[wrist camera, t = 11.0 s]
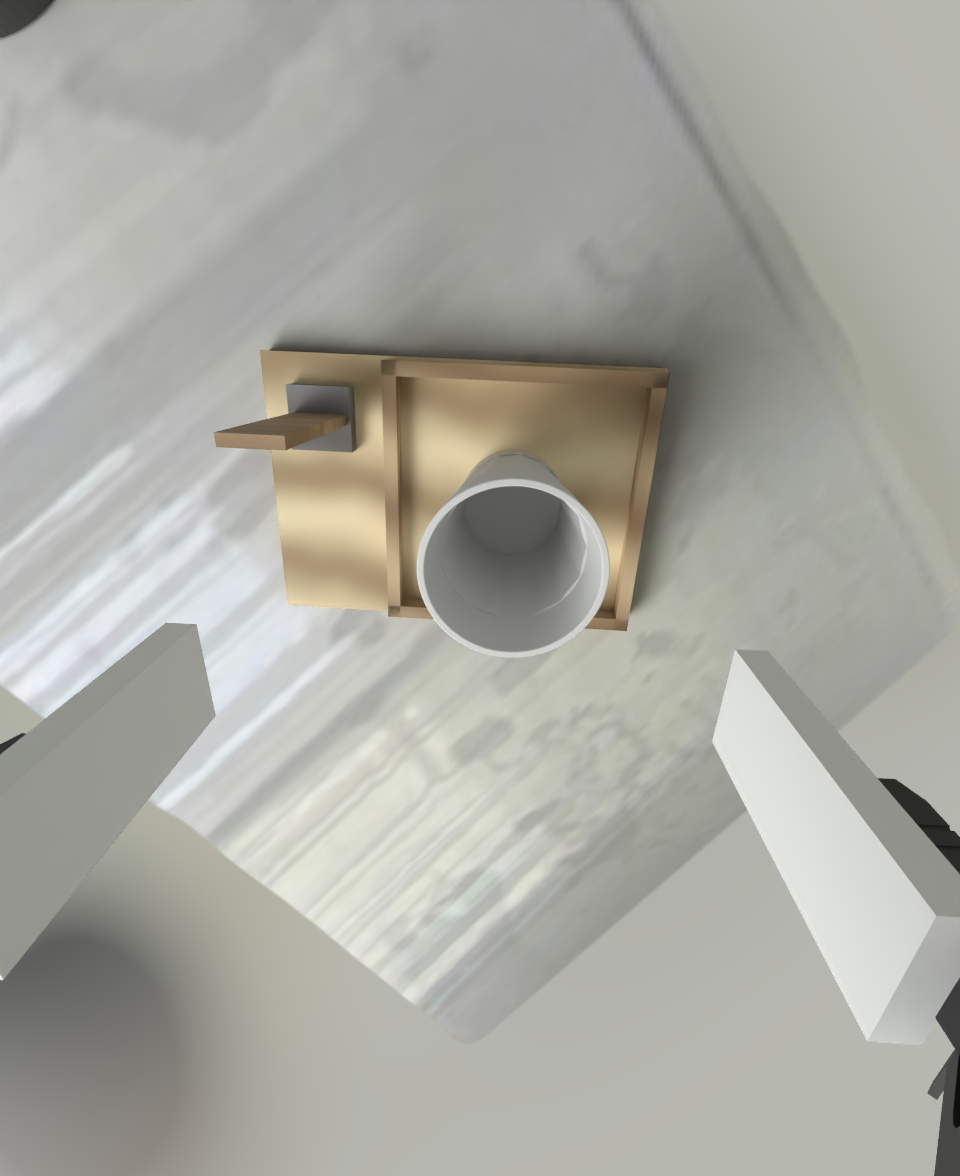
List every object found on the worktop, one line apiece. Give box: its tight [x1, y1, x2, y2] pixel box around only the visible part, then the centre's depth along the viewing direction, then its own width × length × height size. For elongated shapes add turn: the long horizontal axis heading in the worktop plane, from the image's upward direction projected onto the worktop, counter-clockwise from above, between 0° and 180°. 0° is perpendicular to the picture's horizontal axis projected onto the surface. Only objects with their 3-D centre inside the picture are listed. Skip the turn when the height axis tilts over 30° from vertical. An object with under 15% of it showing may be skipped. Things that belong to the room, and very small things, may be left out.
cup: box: [417, 450, 610, 657], centre depth 28 cm, size 8×8×12 cm
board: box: [214, 350, 670, 631], centre depth 29 cm, size 16×23×11 cm
